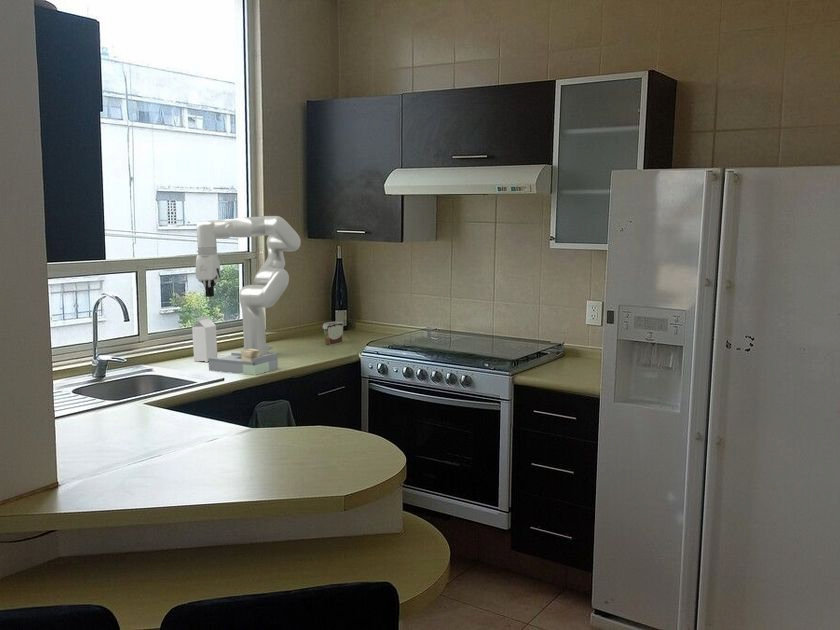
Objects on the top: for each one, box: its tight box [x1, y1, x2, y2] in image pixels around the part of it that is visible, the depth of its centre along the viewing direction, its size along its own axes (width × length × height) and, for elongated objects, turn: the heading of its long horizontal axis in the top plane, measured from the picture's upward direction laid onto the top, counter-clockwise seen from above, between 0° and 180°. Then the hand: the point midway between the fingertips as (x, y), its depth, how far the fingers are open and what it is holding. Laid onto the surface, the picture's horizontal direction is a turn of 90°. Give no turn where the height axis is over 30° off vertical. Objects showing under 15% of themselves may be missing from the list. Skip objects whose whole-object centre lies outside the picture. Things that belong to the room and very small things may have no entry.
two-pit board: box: [208, 352, 279, 376], centre depth 326 cm, size 14×24×6 cm, turn 61°
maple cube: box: [240, 349, 260, 362], centre depth 319 cm, size 5×5×5 cm
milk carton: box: [191, 315, 219, 363], centre depth 347 cm, size 7×7×19 cm
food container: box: [322, 321, 345, 346], centre depth 386 cm, size 12×6×10 cm, turn 144°
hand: (209, 296), depth 332 cm, fingers closed
